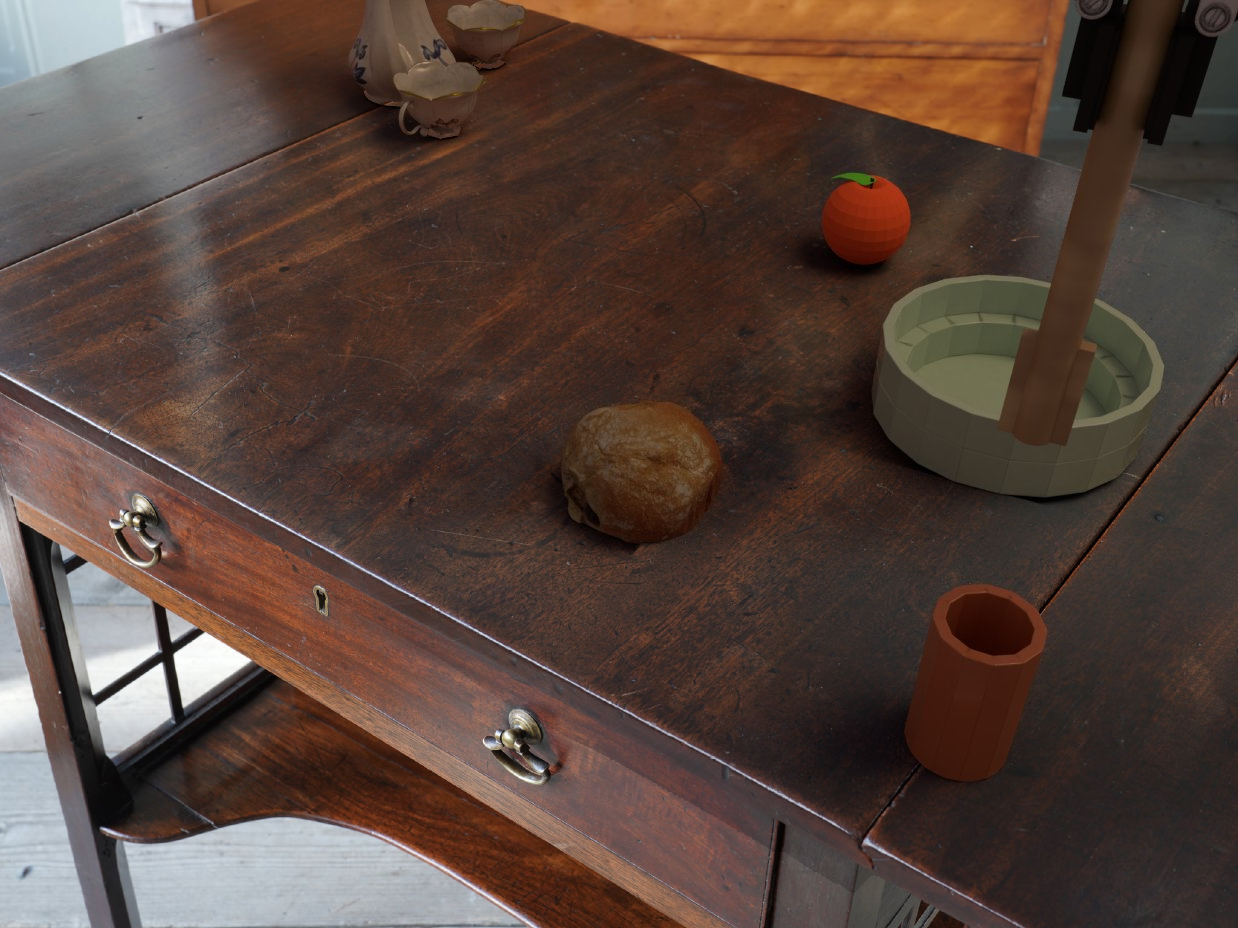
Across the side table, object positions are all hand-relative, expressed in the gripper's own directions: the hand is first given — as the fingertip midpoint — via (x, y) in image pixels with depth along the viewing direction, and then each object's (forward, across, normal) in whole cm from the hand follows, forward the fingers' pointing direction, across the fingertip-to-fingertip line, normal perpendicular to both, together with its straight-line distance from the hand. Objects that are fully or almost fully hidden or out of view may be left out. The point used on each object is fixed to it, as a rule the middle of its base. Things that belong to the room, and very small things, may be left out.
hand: (1121, 120), depth 45 cm
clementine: (+31, -17, +41) cm, 55 cm away
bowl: (+31, -2, +24) cm, 39 cm away
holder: (+31, 0, -4) cm, 31 cm away
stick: (+15, 0, 0) cm, 15 cm away
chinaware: (+32, -65, +56) cm, 91 cm away
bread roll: (+31, -21, +7) cm, 39 cm away
